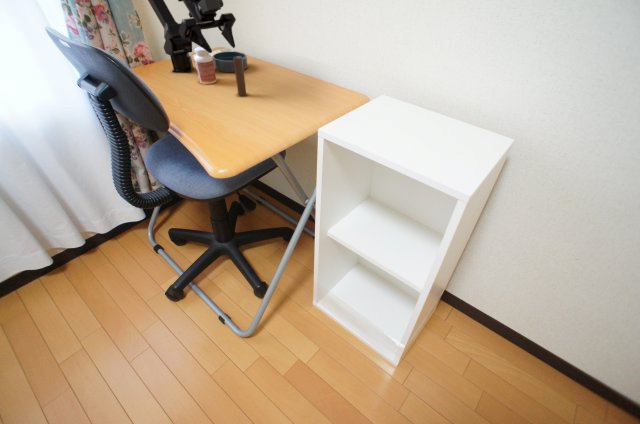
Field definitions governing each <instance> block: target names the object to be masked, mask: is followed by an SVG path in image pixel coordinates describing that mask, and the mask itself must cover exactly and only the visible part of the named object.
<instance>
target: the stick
mask: <svg viewBox="0 0 640 424" xmlns="http://www.w3.org/2000/svg"><path fill="white" fill-rule="evenodd" d="M233 60H234V68H235V72H234V74H235V82H236V88H237V96H239V97H246V96H247V88H246V79H245V69H243V60H242V57H241V56H235V57H233Z"/></svg>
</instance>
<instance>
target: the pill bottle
mask: <svg viewBox="0 0 640 424" xmlns="http://www.w3.org/2000/svg"><path fill="white" fill-rule="evenodd" d="M194 53H195V56H194V63H195V70H196V74H197V78H198V82H199V83H200V84H204V85H211V84H214V83H216V82H217V76H216V69H215V68H214V63H213V58H212V56H213V55H211V54H210V53H209V52H208V51H206V50H205V49H203V48H202V47H200V46H197V47H195V48H194Z"/></svg>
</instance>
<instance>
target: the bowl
mask: <svg viewBox="0 0 640 424" xmlns="http://www.w3.org/2000/svg"><path fill="white" fill-rule="evenodd" d="M211 56H212V58H213V63H214V69H215V70H217V71H219V72H222V73H229V74H230V73H231V74H232V73H235V68H234V60H233V57H235V56H241V57H242V60H243V69H244V70H246V69H247V68H248V65H249V64H248V58H247V54H246V53H244V52H240V51H233V50H231V51H230V50H229V51H227V50H226V51H220V52H216V53H214V54H212V55H211Z"/></svg>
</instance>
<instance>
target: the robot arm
mask: <svg viewBox="0 0 640 424" xmlns="http://www.w3.org/2000/svg"><path fill="white" fill-rule="evenodd" d="M147 1H148V3H149V5H150V7H151V8H152V10H153V12H154V13H155V15H156V18H157V19H158V21H159V22H160V24H161V26H162V28H163V38H164V44H163V50H164V52H165V54H166V55H168V56H169V57H170V60H171V61H170V62H171V64H172V73H191V71H192V70H193V69H194V64H193V59H192V56H191V55H190V53H193V43H194V44H196V45H197V46H198V47H202V48H203V49H205V50H206V51H208V52H209V54H212V53H213V50H212V48H211V46H210V45H209V43H208V41H207V39H206V37H205V36H204V35H203V30H208V29H209V30H210V29H215V28H218V30H219V31H220V34H221V36H222V37H223V38H224V39H225V40H226V42H227V43H228V44H229V46H231V48H232V49H235V47H236V43H235V39H234V34H233V26H234V25H235V23H236V20H237V18H236V17H235V15H234V14H233V13H232V12H225V13H220V16H219V18H218V19H215V18H216V17H217V14H218V13H217V12H218V11H220V10H222V8H223V7H224V5H225V4H224V1H223V0H177V2H181V3H183V4H184V6H185V8H186V9H187V10H188V16H189V18H181V19H182V20H181V22H180V23H178V22H177V21H176V20H175V18H174V16H173V14H172V13H171V11H170V9H169V6H168V5H167V3H166V2H165V0H147Z"/></svg>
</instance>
